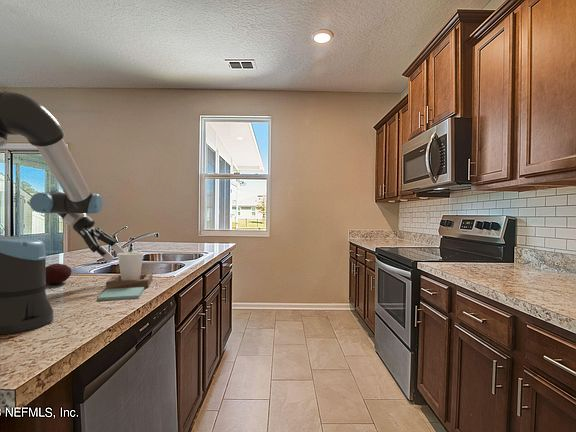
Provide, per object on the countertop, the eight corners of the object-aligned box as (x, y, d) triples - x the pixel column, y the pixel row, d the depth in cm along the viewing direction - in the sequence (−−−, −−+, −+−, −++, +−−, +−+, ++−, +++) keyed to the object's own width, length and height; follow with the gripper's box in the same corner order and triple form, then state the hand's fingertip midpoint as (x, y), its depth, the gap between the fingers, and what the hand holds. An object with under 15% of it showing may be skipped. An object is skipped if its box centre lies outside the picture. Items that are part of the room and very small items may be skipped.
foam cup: (142, 286, 132) (142, 254, 132) (116, 288, 128) (116, 255, 128) (143, 281, 141) (143, 251, 140) (119, 283, 137) (119, 252, 137)
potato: (48, 281, 140) (48, 261, 140) (77, 280, 142) (77, 261, 142) (33, 287, 129) (33, 266, 129) (65, 286, 131) (65, 265, 131)
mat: (138, 298, 114) (138, 295, 114) (97, 300, 110) (97, 297, 110) (144, 289, 126) (144, 286, 126) (106, 291, 122) (106, 289, 122)
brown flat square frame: (148, 287, 129) (148, 280, 129) (105, 289, 125) (105, 282, 125) (152, 280, 144) (152, 273, 144) (114, 281, 139) (114, 274, 139)
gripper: (88, 226, 145) (123, 259, 147) (55, 229, 120) (97, 269, 122) (100, 214, 146) (135, 248, 148) (70, 215, 121) (112, 255, 123)
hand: (118, 257), depth 135 cm, fingers open, 13 cm apart
